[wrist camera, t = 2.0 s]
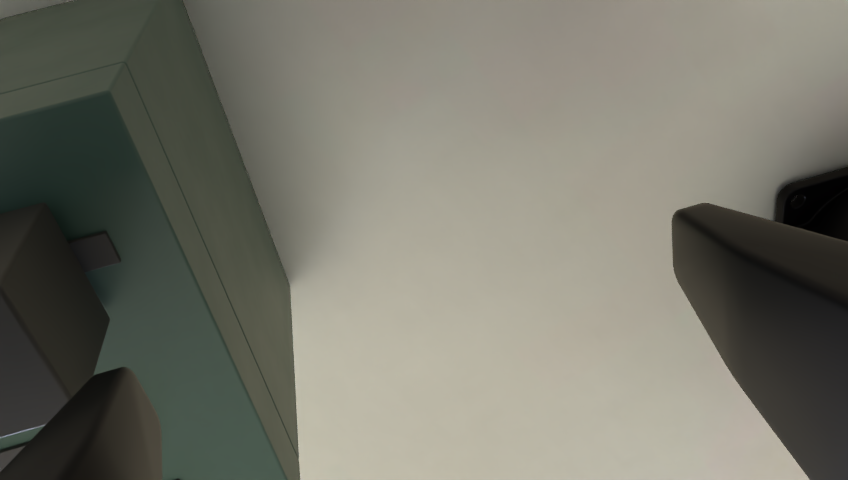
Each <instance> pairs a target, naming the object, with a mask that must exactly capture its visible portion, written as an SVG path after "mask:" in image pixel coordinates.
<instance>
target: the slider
mask: <svg viewBox="0 0 848 480" xmlns="http://www.w3.org/2000/svg"><path fill="white" fill-rule="evenodd" d="M109 322H110V318H109V316H108V314H107V312H106V310H105V309H104V307H103V305H102V303H101V301H100V300H99V298H98V296H97V294H96V292H95V291H94V289H93V287H92V285H91V283H90V282H89V280H88V278H87V276H86V274H85V273H84V271H83V269H82V267H81V265H80V263H79V262H78V260H77V258H76V256H75V254H74V253H73V251H72V249H71V247H70V245H69V244H68V242H67V240H66V238H65V236H64V235H63V233H62V231H61V229H60V227H59V225H58V224H57V222H56V220H55V218H54V216H53V215H52V213H51V211H50V209H49V207H48V206H47V204H46V203H39V204H35V205H31V206H28V207H24V208H20V209H16V210H13V211H9V212H5V213H2V214H0V438H3V437H7V436H10V435H14V434H17V433H21V432H24V431H28V430H31V429H35V428H38V427H42V426H45V425H46V424H47V423H48V422H49V421H50V420H51V419H52V418H53V417H54V416H55V415H56V414H57V413H58V411H59V410H60V409H61V408H62V407H63V406H64V405H65V404H66V403H67V402H68V401H69V400H70V399H71V398H72V397H73V396H74V395H75V394H76V393H77V392H78V391H79V390H80V388H81V387H82V386H83V385H84V384H85V383H86V382H87V381H88V380H89V379H90V378H91V377H92V376H93V375H94V372H95V368H96V365H97V362H98V359H99V355H100V352H101V349H102V345H103V342H104V339H105V335H106V332H107V329H108V326H109Z"/></svg>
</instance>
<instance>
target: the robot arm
mask: <svg viewBox="0 0 848 480" xmlns="http://www.w3.org/2000/svg"><path fill="white" fill-rule="evenodd" d="M796 195H797V197H796V198H795V200H794V201H792V202H791V200H792V199H793V198H794V196H796ZM672 246H673V267H674V272H675V275H676V278H677V280H678V283H679V285H680V286H681V288H682V290H683V291H684V293H685V295H686V297H687V298H688V300H689V302H690V304H691V305H692V307H693V309H694V311H695V312H696V314H697V316H698V317H699V319H700V321H701V323H702V324H703V326H704V328H705V330H706V331H707V333H708V335H709V336H710V338H711V340H712V342H713V343H714V345H715V347H716V349H717V350H718V352H719V354H720V356H721V357H722V359H723V361H724V362H725V364H726V366H727V367H728V369H729V370H730V372H731V374H732V375H733V377H734V378H735V380H736V381H737V382H738V384H739V385H740V387H741V388H742V389H743V391H744V392H745V394H746V395H747V396H748V398H749V399H750V400H751V402H752V403H753V404H754V406H755V407H756V408H757V410H758V411H759V412H760V414H761V415H762V416H763V418H764V419H765V420H766V422H767V423H768V424H769V426H770V427H771V428H772V430H773V431H774V432H775V434H776V435H777V436H778V438H779V439H780V440H781V442H782V443H783V444H784V446H785V447H786V448H787V450H788V451H789V452H790V454H791V455H792V456H793V458H794V459H795V460H796V462H797V463H798V464H799V466H800V467H801V468H802V470H803V471H804V472H805V474H806V475H807V476H808V478H809V479H810V480H848V168H844V169H840V170H837V171H833V172H830V173H826V174H823V175H819V176H816V177H812V178H808V179H805V180H801V181H798V182H794V183H791V184H789V185H787V186H785V187H784V188H783V189H782V190H781V191H780V193H779V194H778V198H777V210H776V222H775V221H771V220H767V219H764V218H760V217H757V216H753V215H749V214H746V213H742V212H738V211H735V210H731V209H727V208H724V207H720V206H717V205H713V204H709V203H701V204H697V205H694V206H690V207H687V208H683V209H680V210H677V211H676V212H675V213H674V215H673V218H672ZM0 480H162V433H161V425H160V421H159V418H158V415H157V413H156V411H155V409H154V407H153V405H152V404H151V402H150V400H149V398H148V396H147V395H146V393H145V391H144V389H143V387H142V386H141V384H140V382H139V380H138V379H137V377H136V375H135V374H134V372H133V371H132V370H131V369H129V368H126V367H120V368H117V369H113V370H110V371H106V372H102V373H99V374H96V375H94V376H92V377H91V378H90V379H89V380H88V381H87V382H86V383H85V384H84V385H83V386H82V387H81V388H80V390H79V391H78V392H77V393H76V394H75V395H74V396H73V397H72V398H71V399H70V400H69V401H68V402H67V403H66V404H65V405H64V406H63V407H62V408H61V409H60V410H59V411H58V413H57V414H56V415H55V416H54V417H53V418H52V419H51V420H50V421H49V422H48V423H47V424H46V425H45V426H44V427H43V428H42V429H41V430H40V431H39V432H38V433H37V434H36V435H35V437H34V438H33V439H32V440H31V441H30V442H29V443H28V444H27V445H26V446H25V447H24V448H23V449H22V450H21V451H20V452H19V453H18V454H17V455H16V456H15V457H14V458H13V459H12V461H11V462H10V463H9V464H8V465H7V466H6V467H5V468H4V469H3V470H2V471H1V472H0Z"/></svg>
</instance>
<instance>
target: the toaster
mask: <svg viewBox="0 0 848 480" xmlns="http://www.w3.org/2000/svg"><path fill="white" fill-rule="evenodd" d="M39 203H46V204H47V206H48V207H49V209H50V211H51V213H52V215H53V216H54V218H55V220H56V222H57V224H58V225H59V227H60V229H61V231H62V233H63V235H64V236H65V238H66V240H67V242H68V244H69V245H70V247H71V249H72V251H73V253H74V254H75V256H76V258H77V260H78V262H79V263H80V265H81V267H82V269H83V271H84V273H85V274H86V276H87V278H88V280H89V282H90V283H91V285H92V287H93V289H94V291H95V292H96V294H97V296H98V298H99V300H100V301H101V303H102V305H103V307H104V309H105V310H106V312H107V314H108V316H109V318H110V322H109V326H108V329H107V332H106V335H105V339H104V342H103V345H102V349H101V352H100V355H99V359H98V362H97V365H96V368H95V372H94V375H96V374H99V373H102V372H106V371H110V370H113V369H117V368H120V367H126V368H129V369H131V370H132V371H133V372H134V374H135V375H136V377H137V379H138V380H139V382H140V384H141V386H142V387H143V389H144V391H145V393H146V395H147V396H148V398H149V400H150V402H151V404H152V405H153V407H154V409H155V411H156V413H157V415H158V418H159V421H160V425H161V433H162V480H300V471H299V460H298V459H299V453H298V433H297V414H296V394H295V374H294V354H293V335H292V315H291V295H290V286H289V283H288V280H287V278H286V275H285V272H284V270H283V267H282V264H281V262H280V259H279V256H278V254H277V251H276V248H275V246H274V243H273V240H272V238H271V235H270V232H269V230H268V227H267V225H266V222H265V219H264V217H263V214H262V211H261V209H260V206H259V203H258V201H257V198H256V195H255V193H254V190H253V187H252V185H251V182H250V179H249V177H248V174H247V171H246V169H245V166H244V163H243V161H242V158H241V155H240V153H239V150H238V147H237V145H236V142H235V139H234V137H233V134H232V131H231V129H230V126H229V124H228V121H227V118H226V116H225V113H224V110H223V108H222V105H221V102H220V100H219V97H218V94H217V92H216V89H215V86H214V84H213V81H212V78H211V76H210V73H209V70H208V68H207V65H206V62H205V60H204V57H203V54H202V52H201V49H200V46H199V44H198V41H197V38H196V36H195V33H194V31H193V28H192V25H191V23H190V20H189V17H188V15H187V12H186V9H185V7H184V4H183V1H182V0H74V1H70V2H66V3H63V4H59V5H55V6H51V7H47V8H43V9H39V10H35V11H31V12H27V13H23V14H20V15H16V16H12V17H8V18H4V19H0V214H2V213H5V212H9V211H13V210H16V209H20V208H24V207H28V206H31V205H35V204H39ZM94 375H93V376H94ZM43 427H44V426H42V427H38V428H35V429H31V430H28V431H24V432H21V433H17V434H14V435H10V436H7V437H3V438H0V472H1V471H2V470H3V469H4V468H5V467H6V466H7V465H8V464H9V463H10V462H11V461H12V459H13V458H14V457H15V456H16V455H17V454H18V453H19V452H20V451H21V450H22V449H23V448H24V447H25V446H26V445H27V444H28V443H29V442H30V441H31V440H32V439H33V438H34V437H35V435H36V434H37V433H38V432H39V431H40V430H41V429H42V428H43Z"/></svg>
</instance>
